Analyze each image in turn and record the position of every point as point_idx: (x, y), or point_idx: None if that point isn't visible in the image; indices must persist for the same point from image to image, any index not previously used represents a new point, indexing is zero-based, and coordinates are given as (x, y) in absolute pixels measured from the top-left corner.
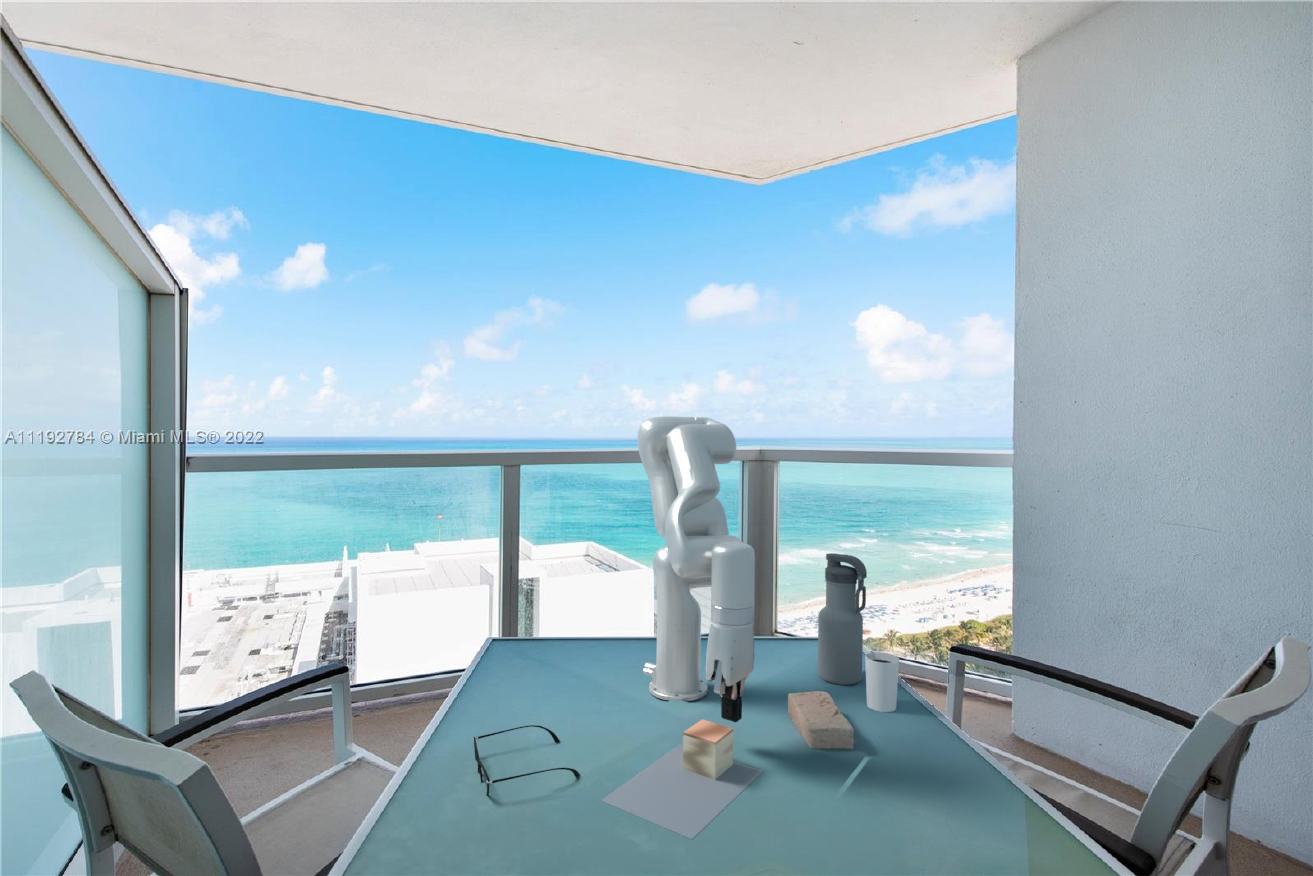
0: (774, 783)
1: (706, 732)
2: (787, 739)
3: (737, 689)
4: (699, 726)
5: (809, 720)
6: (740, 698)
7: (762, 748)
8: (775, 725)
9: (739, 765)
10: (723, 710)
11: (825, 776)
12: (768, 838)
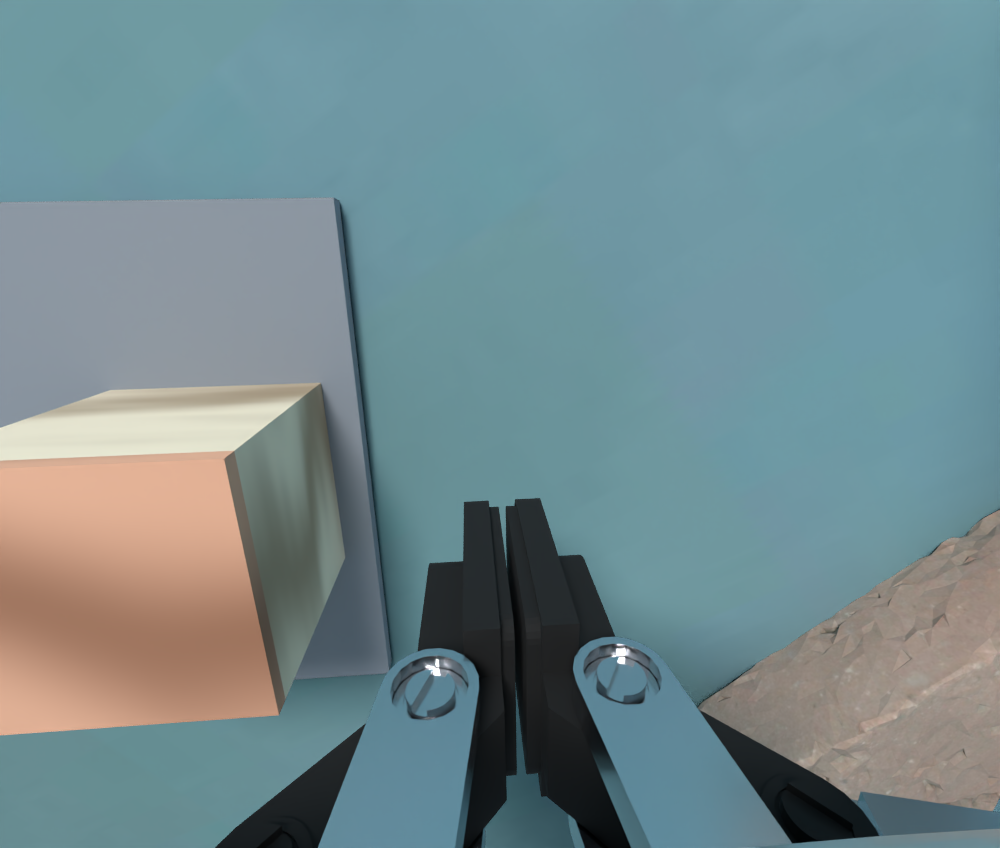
0: (366, 714)
1: (51, 617)
2: (753, 598)
3: (596, 829)
4: (87, 518)
5: (850, 756)
6: (542, 784)
7: (608, 556)
8: (876, 495)
9: (360, 583)
10: (428, 581)
11: (537, 803)
12: (49, 835)
